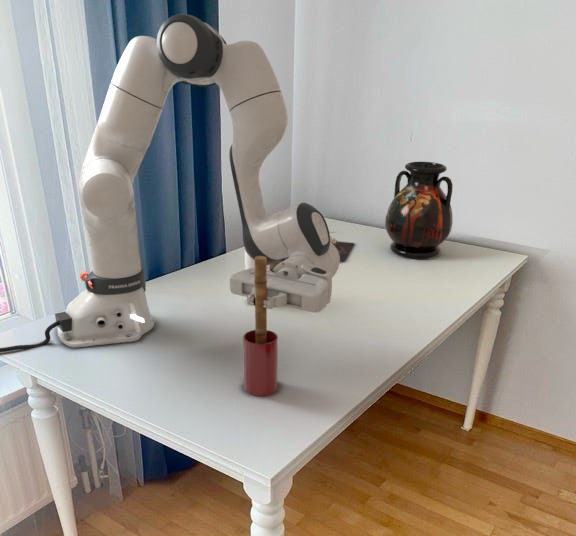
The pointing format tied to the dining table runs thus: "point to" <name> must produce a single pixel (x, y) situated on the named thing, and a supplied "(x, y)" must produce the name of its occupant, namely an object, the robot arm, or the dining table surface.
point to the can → (260, 364)
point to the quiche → (341, 248)
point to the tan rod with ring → (260, 299)
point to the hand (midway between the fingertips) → (258, 302)
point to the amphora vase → (420, 212)
